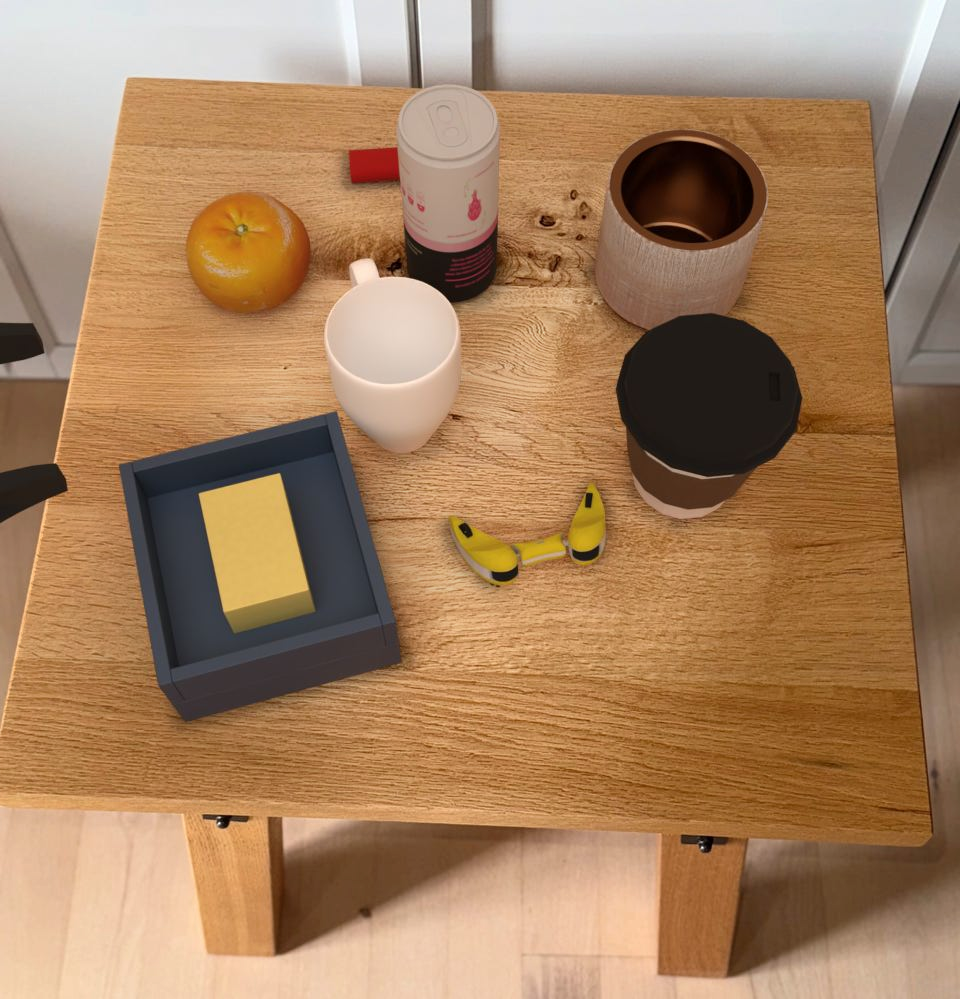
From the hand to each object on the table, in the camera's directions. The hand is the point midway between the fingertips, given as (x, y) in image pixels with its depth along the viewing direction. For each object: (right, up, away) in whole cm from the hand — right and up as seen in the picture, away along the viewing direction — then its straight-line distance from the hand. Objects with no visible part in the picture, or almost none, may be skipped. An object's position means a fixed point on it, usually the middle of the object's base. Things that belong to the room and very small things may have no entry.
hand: (50, 406), depth 59 cm
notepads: (+8, -9, +15) cm, 19 cm away
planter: (+35, +12, +30) cm, 47 cm away
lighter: (+15, +21, +34) cm, 43 cm away
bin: (+8, -10, +18) cm, 22 cm away
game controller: (+24, -8, +20) cm, 32 cm away
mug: (+15, +2, +25) cm, 29 cm away
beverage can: (+19, +12, +30) cm, 37 cm away
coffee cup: (+34, -3, +22) cm, 41 cm away
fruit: (+5, +11, +29) cm, 32 cm away
